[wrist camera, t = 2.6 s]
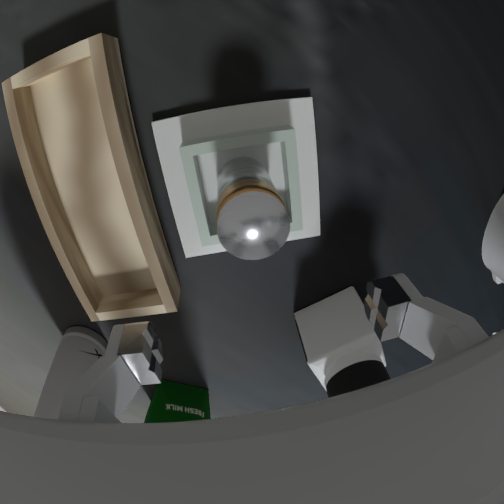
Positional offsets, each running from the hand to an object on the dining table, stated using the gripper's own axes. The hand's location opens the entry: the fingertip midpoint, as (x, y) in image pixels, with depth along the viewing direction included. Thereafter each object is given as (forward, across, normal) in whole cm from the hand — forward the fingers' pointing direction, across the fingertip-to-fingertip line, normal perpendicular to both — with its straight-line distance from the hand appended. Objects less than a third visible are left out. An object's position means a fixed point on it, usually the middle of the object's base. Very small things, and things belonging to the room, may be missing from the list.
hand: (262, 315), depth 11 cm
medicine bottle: (+15, -8, +17) cm, 25 cm away
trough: (+15, +11, -2) cm, 19 cm away
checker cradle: (+15, -1, 0) cm, 15 cm away
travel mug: (+16, +21, +16) cm, 31 cm away
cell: (+15, -1, 0) cm, 15 cm away
